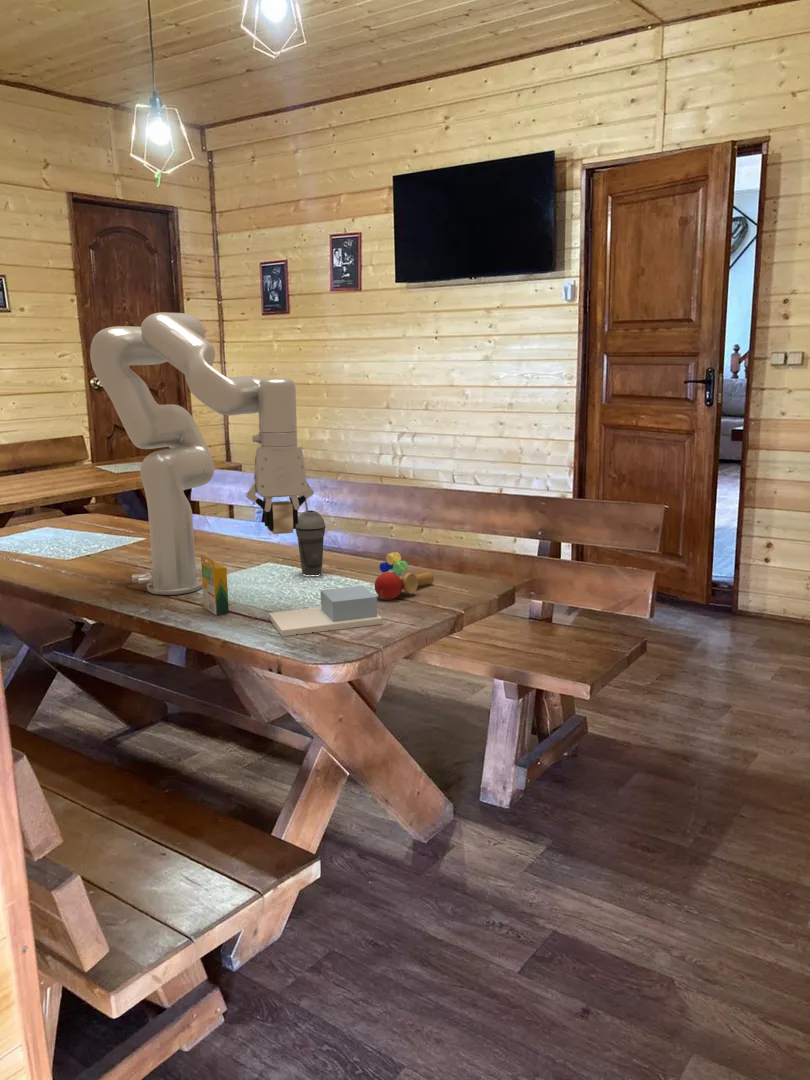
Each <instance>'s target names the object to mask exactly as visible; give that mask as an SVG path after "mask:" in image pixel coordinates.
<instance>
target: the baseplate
mask: <svg viewBox="0 0 810 1080" xmlns="http://www.w3.org/2000/svg"><path fill="white" fill-rule="evenodd" d="M377 597H378V596H376V594H374V593H372V592H371V591H370V590H369V589H368V588H366V587H365V586H364V585H357V586H348V587H347V586H346V587H338V588H327V589H320V606H318V607H309V608H300V609H291V610H283V611H274V612H268V619H269V621H270V622H271V623H272V625H273V626H274V628H275V629H276V630H277V632H278V633H279V634H280V635H281V636H282V637H290V636H295V635H296V634H298V635H304V634H305V633H306V634H312V632H314V633H321V631H322V632H328V631H329V630H330V631H337V629H338V630H345V629H352V628H360V627H369V626H377V625H382V624H383V617H381V616H380V615H379V614H378V598H377ZM330 631H329V632H330ZM306 634H305V635H306ZM296 636H297V635H296Z"/></svg>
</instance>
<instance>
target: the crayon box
mask: <svg viewBox="0 0 810 1080" xmlns="http://www.w3.org/2000/svg"><path fill="white" fill-rule="evenodd" d="M205 560H207V561H205ZM200 561H201V579H202V583H203V587H202V601H203V608H204V609H206V610H207V611H209V612H210V613H212V614H214V615H215V616H221V615H225V614H226V615H227V614H229V610H230V609H229V597H228V596H229V593H228V590H229V589H228V573H227V570H228V569H227V567H225V566H223V565H221V564H220V563H218V562H216V561H214V560H213V559H211V558H210V557H207V556H206V555H204V554H202V553H200Z"/></svg>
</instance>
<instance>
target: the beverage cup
mask: <svg viewBox="0 0 810 1080" xmlns="http://www.w3.org/2000/svg"><path fill="white" fill-rule="evenodd" d="M304 505H305V506H304V507H305V511H303V512H302V513H301V514H299V515H298V524H296V529H295V534H296V537H297V542H298V543H297V544H298V549H299V558H300V559H299V560H300V566H301V571H302V575H303V574H305V575H319V574H321V575H322V571H323V570H322V568H323V558H324V557H323V556H324V541H325V540H324V539H325V534H326V533H325V532H326V528H327V527H326V524H325V523H326V522H325V520H324V518H323V516H322V515H321V514H320V513H319V512H317V511H315V510H309V508H308V502H307V499H306V500H305V502H304Z"/></svg>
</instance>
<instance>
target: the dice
mask: <svg viewBox="0 0 810 1080" xmlns="http://www.w3.org/2000/svg"><path fill="white" fill-rule="evenodd" d="M408 569H409V564H408V562H407V561H405V560H402V556H401V554H400V553H399V552H397V551H395V552H390V553H388V554H387V555H386V561H385V562H380V564H379V571H380V572H381V573H385V572H394V573H396V574H397V575H398V577H400V576H401V577H403V573H404V572H407V571H408Z"/></svg>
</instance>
